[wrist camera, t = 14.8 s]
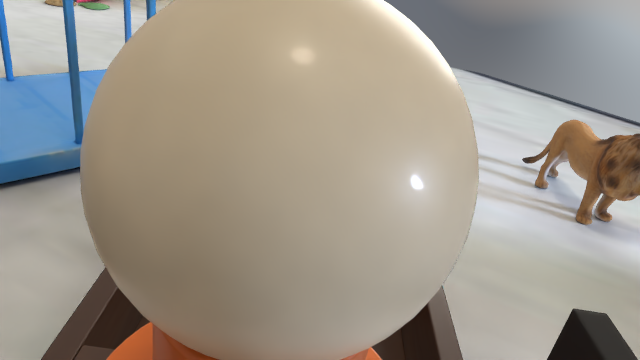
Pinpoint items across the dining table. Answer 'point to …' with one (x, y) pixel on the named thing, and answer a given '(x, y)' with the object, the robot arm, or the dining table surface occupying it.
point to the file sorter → (47, 108)
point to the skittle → (277, 178)
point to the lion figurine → (594, 166)
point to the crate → (124, 320)
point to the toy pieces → (57, 1)
